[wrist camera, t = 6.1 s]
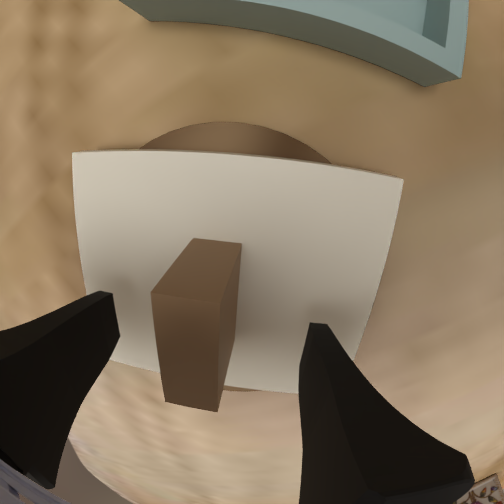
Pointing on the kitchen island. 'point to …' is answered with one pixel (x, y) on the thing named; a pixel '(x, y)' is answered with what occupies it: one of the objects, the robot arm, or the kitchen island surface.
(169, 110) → the kitchen island surface
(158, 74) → the kitchen island surface
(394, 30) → the blue-grey open tray
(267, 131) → the trivet
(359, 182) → the lid
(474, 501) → the decorative jar
